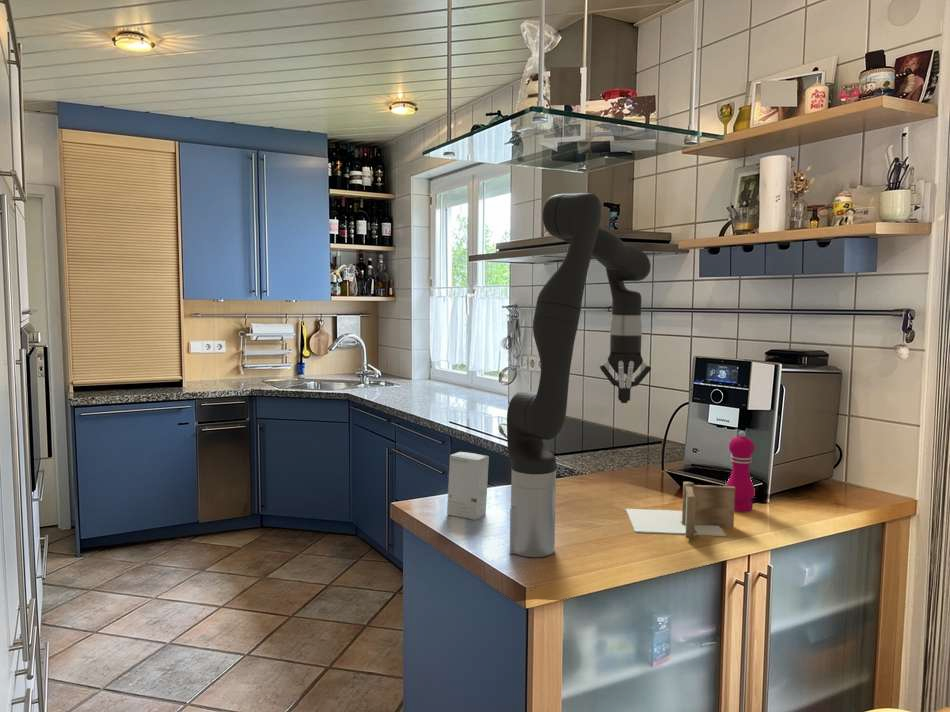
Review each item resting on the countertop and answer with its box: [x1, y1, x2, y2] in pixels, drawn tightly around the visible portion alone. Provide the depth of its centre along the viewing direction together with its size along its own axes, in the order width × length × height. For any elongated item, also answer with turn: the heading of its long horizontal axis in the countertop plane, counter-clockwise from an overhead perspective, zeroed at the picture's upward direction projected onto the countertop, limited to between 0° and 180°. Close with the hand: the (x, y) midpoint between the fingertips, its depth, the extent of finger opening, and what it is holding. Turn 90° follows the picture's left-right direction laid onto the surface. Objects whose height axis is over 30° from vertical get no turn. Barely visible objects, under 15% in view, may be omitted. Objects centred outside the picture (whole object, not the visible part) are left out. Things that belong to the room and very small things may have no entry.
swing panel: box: [685, 486, 696, 540], centre depth 152 cm, size 11×2×9 cm, turn 165°
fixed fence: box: [681, 481, 735, 528], centre depth 158 cm, size 12×2×10 cm, turn 84°
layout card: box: [625, 508, 727, 537], centre depth 161 cm, size 20×17×1 cm
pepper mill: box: [725, 430, 755, 513], centre depth 172 cm, size 7×7×20 cm
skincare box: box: [446, 451, 490, 521], centre depth 165 cm, size 8×6×15 cm
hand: (624, 402), depth 169 cm, fingers closed
